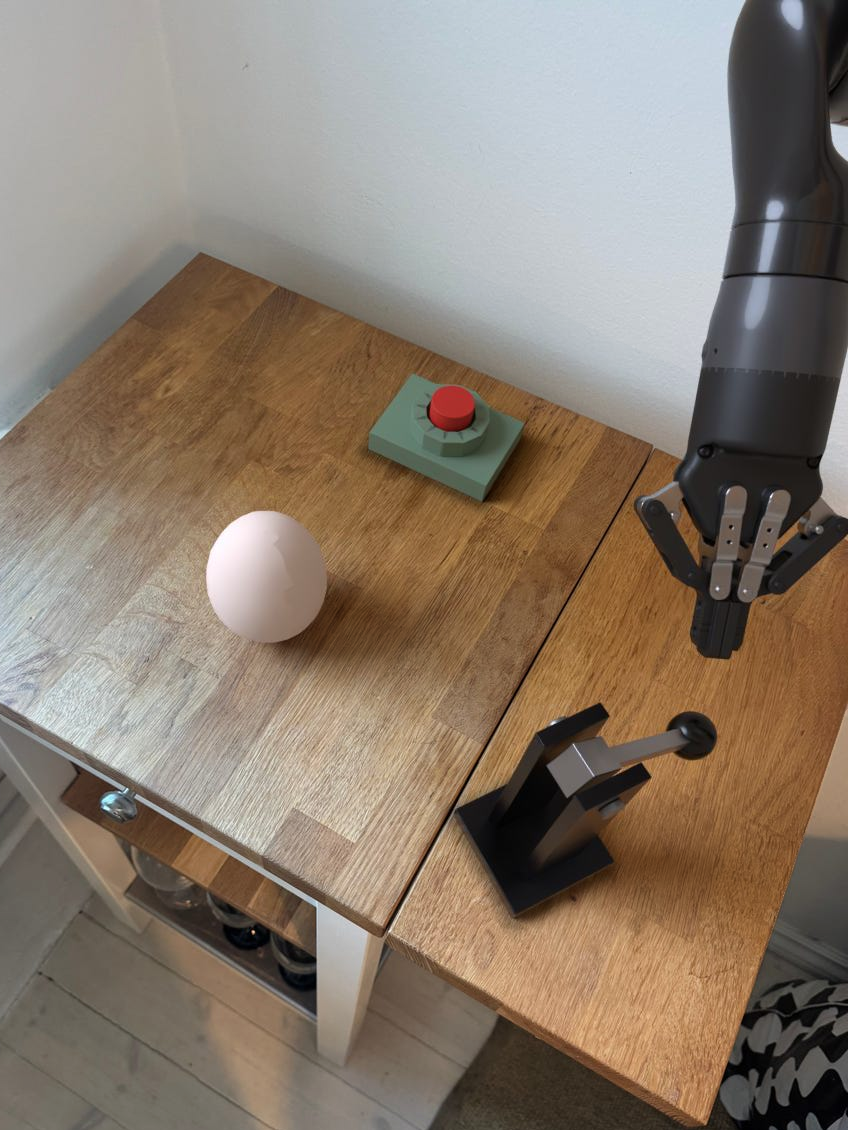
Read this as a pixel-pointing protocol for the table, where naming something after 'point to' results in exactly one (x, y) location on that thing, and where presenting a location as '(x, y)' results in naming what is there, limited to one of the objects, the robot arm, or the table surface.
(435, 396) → the button
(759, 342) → the robot arm
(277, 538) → the egg
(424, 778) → the table surface
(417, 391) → the button box
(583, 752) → the lever
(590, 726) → the bracket
